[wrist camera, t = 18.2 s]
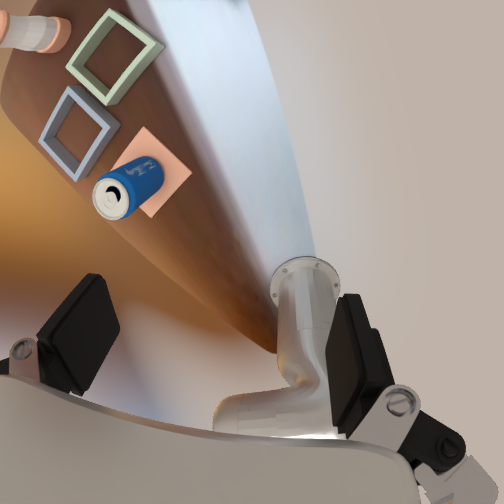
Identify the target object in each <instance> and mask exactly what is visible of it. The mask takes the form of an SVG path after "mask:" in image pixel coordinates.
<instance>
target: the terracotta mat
mask: <svg viewBox="0 0 504 504" xmlns="http://www.w3.org/2000/svg"><path fill="white" fill-rule="evenodd" d="M142 156H148V157H152V158H154V159H155V160H156V161H158V163H159V164H160V165H161V167H162V169H163V172H164V182H163V185H162V187H161V188H160V190H159V191H157V192H156V193H155V194H154V195H153V196H151V197H150V198H149V199H148V200H147V201H145V202H144V203H143V204H142V205H141V206H140V208H141V209H142V210H143V211H144V212H145V213H146V214H147V215H148V216H149V217H151V218H152V217H153V216H154V214H155V213H156V212H157V211H158V210H159V209H160V207H161V206H162V205H163V204H164V203H165V202H166V201H167V200H168V198H169V197H170V196H171V195H172V194H173V193H174V192H175V191H176V190H177V189H178V188H179V186H180V185H181V184H182V183H183V182H184V181H185V180H186V179H187V178H188V177H189V176H190V175H191V174H192V173H193V172H192V171H191V170H190V169H189V168H188V167H187V166H186V165H185V164H184V163H183V162H182V161H180V160H179V159H178V158H177V157H176V156H175V155H174V154H173V153H172V152H171V151H170V150H169V149H168V148H167V147H166V146H165V145H164V144H163V143H162V142H161V141H160V140H158V139H157V138H156V137H155V136H154V135H153V134H152V133H151V132H150V131H149V130H148V129H147V128H146V127H145V126H144V127H143V128H142V129H141V130H140V131H139V133H138V134H137V135H136V137H135V138H134V139H133V140H132V142H131V143H130V144H129V146H128V147H127V148H126V150H125V151H124V152H123V154H122V155H121V157H120V158H119V159H118V161H117V162H116V164H115V165H114V166H113V168H112V169H111V171H112V170H114V169H116V168H118V167H120V166H122V165H124V164H126V163H128V162H130V161H132V160H134V159H136V158H138V157H142Z"/></svg>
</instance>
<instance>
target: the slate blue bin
mask: <svg viewBox="0 0 504 504" xmlns="http://www.w3.org/2000/svg"><path fill="white" fill-rule="evenodd" d="M75 101H76V102H77V103H78V104H79V105H80V106H81V107H82V108H83V109H84V110H85V111H86V112H87V113H88V114H89V115H90V116H91V117H92V118H93V119H94V120H95V121H96V122H97V123H98V124H99V125H100V126H101V127H102V128H103V129H102V131H101V132H100V134H99V135H98V137H97V138H96V140H95V141H94V143H93V144H92V146H91V148H90V149H89V151H88V152H87V154H86V156H85V157H84V159H83V161H82V162H81V164H80V163H79V162H78V160H77V159H76V158H75V157H74V156H73V155H72V154H71V153H70V152H69V151H68V150H67V149H66V148H65V147H64V146H63V145H62V144H61V143H60V141H59V140H58V139H57V138H56V137H55V136H56V134H57V132H58V130H59V128H60V126H61V124H62V123H63V121H64V119H65V117H66V116H67V114H68V112H69V110H70V109H71V107H72V105H73V104H74V102H75ZM120 126H121V124H120V123H119V122H118V121H117V120H116V119H115V118H114V117H113V116H112V115H111V114H110V113H109V112H108V111H107V110H106V109H105V108H104V107H102V106H101V105H100V104H99V103H98V102H97V101H96V100H95V99H94V98H93V97H92V96H91V95H90V94H89V93H88V92H87V91H86V90H85V89H84V88H83V87H81V86H80V85H75V86H68V87H67V88H66V90H65V92H64V93H63V95H62V97H61V98H60V100H59V102H58V104H57V106H56V107H55V109H54V111H53V113H52V115H51V117H50V119H49V120H48V122H47V124H46V126H45V128H44V130H43V133H42V135H41V137H40V139H39V141H38V142H39V143H40V144H41V145H42V146H43V147H44V148H45V150H46V151H47V152H48V153H49V154H50V155H51V156H52V157H53V158H54V160H55V161H56V162H57V163H58V164H59V165H60V166H61V167H62V168H63V169H64V170H65V171H66V173H67V174H68V175H69V176H70V177H71V178H72V179H73V180H74V181H75V182H77V181H79V180H81V179H83V178H85V177H87V176H88V174H89V172H90V171H91V169H92V167H93V166H94V164H95V163H96V161H97V160H98V158H99V156H100V155H101V153H102V152H103V150H104V149H105V147H106V146H107V144H108V143H109V142H110V140H111V139H112V137H113V136H114V134H115V133H116V132H117V130H118V129H119V127H120Z"/></svg>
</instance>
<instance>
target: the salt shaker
mask: <svg viewBox="0 0 504 504" xmlns="http://www.w3.org/2000/svg"><path fill="white" fill-rule="evenodd" d="M70 34H71V23H70V21H69V20H68V19H64V18H59V17H54V16H53V17H44V16H26V17H22V16H10V15H9V13H8V12H7V11H5V10H0V48H5V47H6V48H7V47H8V48H17V49H21V50H25V51H37V52H39V53H56V52H58V51H59V50H61V49H62V48H63V47H64V45H65V44H66V43H67V41H68V39H69V37H70Z"/></svg>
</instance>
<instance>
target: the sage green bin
mask: <svg viewBox="0 0 504 504" xmlns="http://www.w3.org/2000/svg"><path fill="white" fill-rule="evenodd" d="M117 22H118V23H119V24H121V25H122V26H123V27H125V28H126V29H127V30H129V31H130V32H131V33H132V34H134V35H135V36H136V37H138V38H139V39H140V40H141V41H143V42H144V43H145V44H146V45H147V46H146V47H145V48H144V49H143V50H142V51H141V53H140V54H139V55H138V56H137V57H136V58H135V60H134V61H133V62H132V63H131V64H130V66H129V67H128V68H127V69H126V70H125V72H124V73H123V74H122V76H121V77H120V78H119V79H118V81H117V82H116V83H115V85H114V86H113V87H112V89H111V90H109V89H108V88H107V87H106V86H105V85H104V84H103V83H102V82H101V81H100V80H98V79H97V78H96V77H95V76H94V75H93V74H92V73H91V72H90V71H89V70H87V69H86V68H85V67H84V64H85V63H86V62H87V60H88V59H89V57H90V56H91V55H92V53H93V52H94V51H95V49H96V48H97V47H98V45H99V44H100V43H101V41H102V40H103V39H104V38H105V36H106V35H107V34H108V33H109V31H110V30H111V29H112V28H113V27H114V25H115V24H116V23H117ZM164 48H165V47H164V46H163V45H162V44H161V43H159V42H158V41H157V40H156V39H154V38H153V37H152V36H150V35H149V34H148V33H147V32H145V31H144V30H143V29H141V28H140V27H139V26H137V25H136V24H135V23H133V22H132V21H131V20H129V19H128V18H126V17H125V16H124V15H122V14H121V13H119V12H117V11H114V10H112V9H110V8H109V9H108V10H107V12H106V13H105V14H104V15H103V16H102V18H101V19H100V20H99V21H98V22H97V24H96V25H95V26H94V27H93V29H92V30H91V31H90V33H89V34H88V35H87V37H86V38H85V39H84V41H83V42H82V43H81V45H80V46H79V48H78V49H77V51H76V52H75V53H74V55H73V56H72V58H71V59H70V61H69V62H68V64H67V65H66V67H65V68H66V69H68V70H69V71H70V72H71V73H72V74H73V75H74V76H75V77H76V78H77V79H78V80H79V81H80V82H81V83H82V84H83V85H84V86H85V87H87V88H88V89H89V90H90V91H91V92H92V93H93V94H94V95H95V96H96V97H97V98H98V99H99V100H100V101H101V102H102V103H103V104H104V105H106V106H108V105H117V104H118V103H119V101H120V100H121V99H122V97H123V96H124V95H125V93H126V92H127V91H128V90H129V88H130V87H131V86H132V85H133V83H134V82H135V81H136V80H137V78H138V77H139V76H140V75H141V74H142V72H143V71H144V70H145V69H146V68H147V67H148V65H149V64H150V63H151V62H152V61H153V60H154V59H155V58H156V56H157V55H158V54H159V53H160V52H161V51H162V50H163V49H164Z"/></svg>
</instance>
